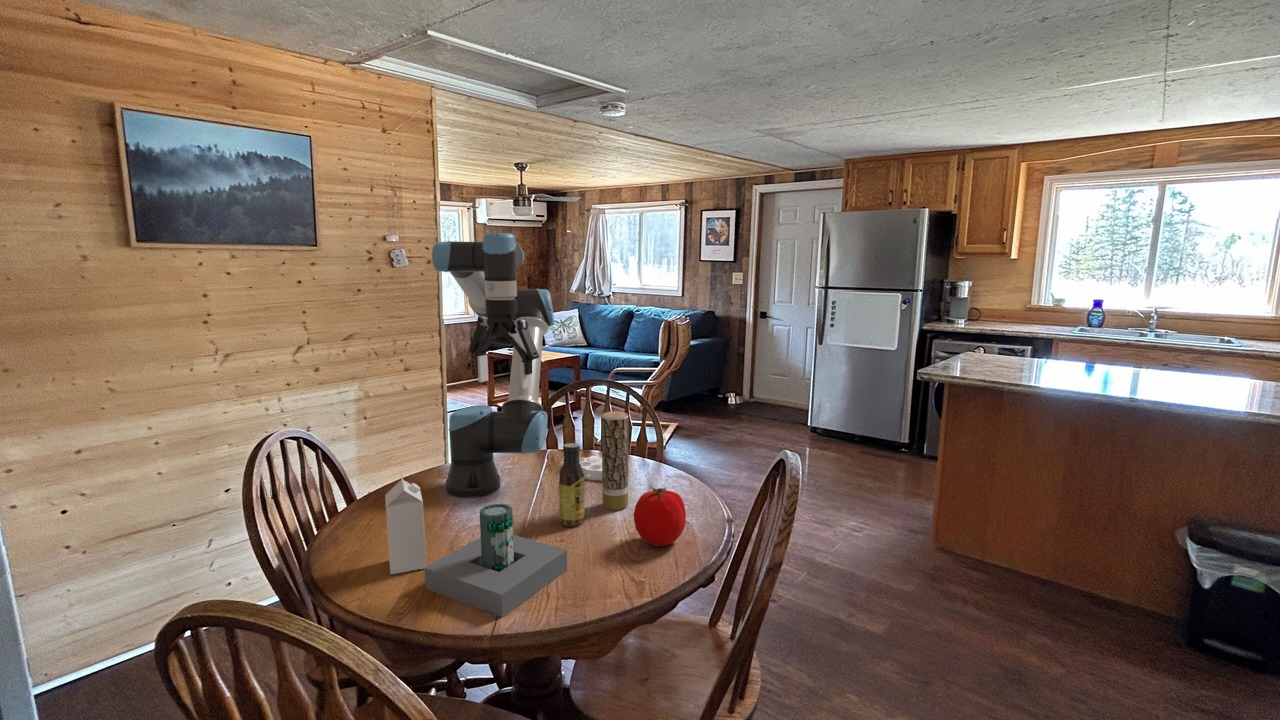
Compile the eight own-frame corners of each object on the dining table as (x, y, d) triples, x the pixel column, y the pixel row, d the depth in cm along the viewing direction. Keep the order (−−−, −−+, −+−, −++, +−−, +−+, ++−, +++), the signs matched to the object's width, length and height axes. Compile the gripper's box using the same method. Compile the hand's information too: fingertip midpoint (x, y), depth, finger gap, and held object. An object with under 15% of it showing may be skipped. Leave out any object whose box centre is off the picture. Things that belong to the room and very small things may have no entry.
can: (503, 589, 122) (501, 517, 119) (477, 583, 124) (474, 513, 121) (519, 574, 127) (517, 506, 125) (493, 569, 129) (491, 502, 127)
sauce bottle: (580, 529, 149) (579, 450, 146) (555, 526, 150) (554, 448, 147) (587, 518, 155) (587, 442, 152) (564, 515, 156) (563, 440, 153)
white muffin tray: (632, 473, 189) (602, 487, 178) (589, 461, 200) (557, 474, 188) (633, 462, 189) (602, 476, 177) (589, 451, 199) (557, 463, 188)
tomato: (693, 550, 138) (694, 494, 136) (641, 557, 135) (641, 500, 133) (676, 529, 149) (676, 477, 147) (627, 535, 146) (627, 482, 144)
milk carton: (390, 575, 127) (384, 488, 124) (389, 560, 133) (383, 476, 130) (426, 569, 129) (421, 483, 126) (423, 554, 136) (419, 472, 133)
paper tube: (613, 513, 158) (613, 419, 154) (597, 505, 163) (596, 414, 159) (633, 506, 163) (633, 415, 158) (617, 499, 168) (617, 410, 164)
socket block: (425, 588, 122) (424, 567, 121) (495, 548, 139) (494, 529, 138) (502, 617, 112) (501, 594, 111) (567, 570, 129) (566, 550, 128)
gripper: (451, 297, 151) (456, 381, 154) (532, 302, 139) (534, 393, 143) (473, 295, 157) (477, 376, 161) (552, 299, 145) (554, 387, 149)
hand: (504, 384), depth 152 cm, fingers open, 13 cm apart
